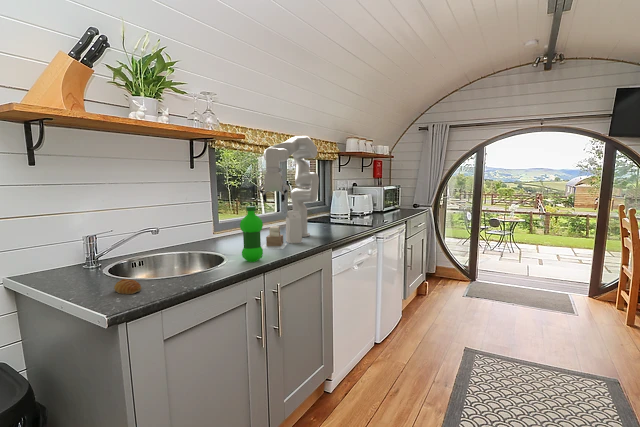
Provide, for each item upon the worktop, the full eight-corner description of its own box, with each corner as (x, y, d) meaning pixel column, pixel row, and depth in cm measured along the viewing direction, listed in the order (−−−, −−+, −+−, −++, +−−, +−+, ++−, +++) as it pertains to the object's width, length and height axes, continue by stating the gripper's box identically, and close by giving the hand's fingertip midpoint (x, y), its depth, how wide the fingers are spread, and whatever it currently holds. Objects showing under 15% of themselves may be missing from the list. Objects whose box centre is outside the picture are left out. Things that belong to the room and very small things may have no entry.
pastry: (147, 291, 116) (146, 280, 115) (127, 297, 110) (127, 285, 109) (131, 287, 120) (130, 276, 120) (111, 292, 115) (110, 281, 114)
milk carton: (286, 243, 200) (285, 211, 198) (297, 242, 202) (296, 210, 201) (290, 245, 193) (289, 211, 191) (302, 244, 196) (301, 211, 194)
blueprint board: (265, 245, 195) (265, 243, 195) (287, 244, 194) (287, 243, 194) (258, 250, 179) (258, 248, 179) (283, 250, 178) (283, 248, 178)
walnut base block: (269, 243, 194) (269, 234, 194) (283, 243, 194) (283, 234, 193) (266, 246, 186) (266, 237, 186) (280, 246, 186) (280, 237, 185)
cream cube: (271, 235, 192) (271, 226, 192) (280, 235, 192) (279, 226, 191) (269, 236, 187) (269, 227, 187) (278, 236, 187) (278, 227, 186)
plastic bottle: (236, 261, 155) (234, 207, 152) (251, 257, 164) (249, 205, 161) (254, 264, 150) (252, 207, 148) (268, 259, 159) (266, 206, 157)
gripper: (289, 170, 190) (290, 201, 192) (258, 171, 191) (260, 201, 193) (287, 170, 182) (288, 202, 184) (255, 171, 183) (257, 202, 185)
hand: (274, 201), depth 188 cm, fingers open, 9 cm apart
